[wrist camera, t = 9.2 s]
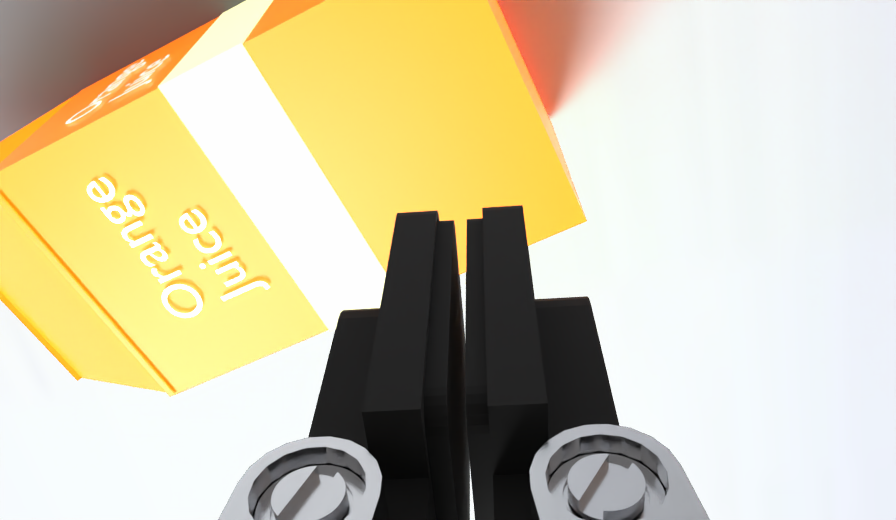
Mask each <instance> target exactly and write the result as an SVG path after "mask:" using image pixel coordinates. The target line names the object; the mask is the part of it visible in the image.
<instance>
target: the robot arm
mask: <svg viewBox="0 0 896 520" xmlns="http://www.w3.org/2000/svg"><path fill="white" fill-rule="evenodd" d="M470 468H471V479H472V490H473V501H474V511H475V520H710V519H709V517H708V515H707V513H706V511H705V510H704V508H703V506H702V504H701V502H700V500H699V498H698V496H697V494H696V492H695V491H694V489H693V487H692V485H691V483H690V481H689V479H688V477H687V475H686V473H685V472H684V470H683V468H682V466H681V464H680V463H679V462H678V460H677V459H676V458H675V456H674V455H673V454H672V453H671V451H670V450H669V449H668V448H667V447H665V446H664V445H663V444H661V443H660V442H658V441H657V440H656V439H654V438H653V437H651V436H649V435H647V434H644V433H642V432H639V431H637V430H634V429H632V428H628V427H623V426H619V422H618V418H617V414H616V410H615V405H614V401H613V397H612V393H611V388H610V384H609V380H608V375H607V371H606V367H605V363H604V358H603V354H602V350H601V346H600V341H599V337H598V333H597V329H596V324H595V320H594V316H593V312H592V307H591V304H590V300H589V298H588V297H570V298H552V299H534V291H533V283H532V275H531V267H530V259H529V251H528V243H527V235H526V227H525V219H524V211H523V205H516V206H500V207H484V208H482V218H478V219H467V237H466V344H465V333H464V321H463V310H462V299H461V287H460V276H459V265H458V253H457V242H456V231H455V222H454V220H446V221H440V220H439V213H438V210H436V211H420V212H404V213H397V215H396V219H395V225H394V231H393V236H392V242H391V248H390V254H389V259H388V265H387V271H386V276H385V282H384V288H383V293H382V299H381V305H380V308H371V309H353V310H343V311H342V312H341V313H340V316H339V318H338V322H337V326H336V330H335V334H334V338H333V342H332V346H331V350H330V354H329V358H328V362H327V366H326V370H325V374H324V378H323V381H322V385H321V389H320V393H319V397H318V401H317V405H316V409H315V413H314V417H313V421H312V425H311V429H310V433H309V437H308V438H304V439H301V440H297V441H293V442H289V443H286V444H284V445H282V446H280V447H278V448H276V449H274V450H272V451H270V452H268V453H266V454H265V455H264V456H263V457H261V458H260V459H259V460H258V461H256V462H255V463H254V464H253V465H251V466H250V467H249V468H248V470H247V471H246V472H245V474H244V475H243V476H242V478H241V479H240V481H239V482H238V483H237V485H236V487H235V489H234V491H233V493H232V495H231V496H230V498H229V500H228V502H227V504H226V506H225V508H224V510H223V512H222V513H221V515H220V517H219V519H218V520H470Z"/></svg>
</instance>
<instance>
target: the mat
mask: <svg viewBox="0 0 896 520" xmlns="http://www.w3.org/2000/svg"><path fill="white" fill-rule="evenodd" d="M244 1H246V0H0V142H1V141H3V140H4V139H6V138H7V137H9V136H11V135H12V134H14V133H15V132H17V131H19V130H20V129H22V128H23V127H25V126H27V125H28V124H30V123H32V122H33V121H35V120H36V119H38V118H40V117H41V116H43V115H44V114H46V113H48V112H49V111H51V110H52V109H54V108H56V107H57V106H59V105H60V104H62V103H64V102H65V101H67V100H68V99H70V98H72V97H73V96H75V95H76V94H78V93H79V92H80V91H81V90H83V89H85V88H87V87H88V86H90V85H92V84H94V83H96V82H98V81H100V80H102V79H103V78H105V77H107V76H109V75H111V74H113V73H115V72H116V71H118V70H120V69H122V68H124V67H126V66H128V65H130V64H131V63H133V62H135V61H137V60H139V59H141V58H143V57H144V56H146V55H148V54H150V53H152V52H154V51H156V50H158V49H159V48H161V47H163V46H165V45H167V44H169V43H171V42H172V41H174V40H176V39H178V38H180V37H182V36H184V35H186V34H187V33H189V32H191V31H193V30H195V29H197V28H199V27H201V26H202V25H204V24H206V23H208V22H210V21H212V20H214V19H215V18H217V17H219V16H220V15H221V14H222V13H224V12H225V11H227V10H229V9H231V8H233V7H235V6H237V5H238V4H240V3H242V2H244Z"/></svg>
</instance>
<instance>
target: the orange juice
mask: <svg viewBox="0 0 896 520" xmlns="http://www.w3.org/2000/svg"><path fill="white" fill-rule="evenodd" d="M516 205H523V211H524V219H525V227H526V235H527V243H528V246H529V245H531V244H533V243H536V242H538V241H541V240H543V239H545V238H548V237H550V236H552V235H555V234H557V233H560V232H562V231H564V230H567V229H569V228H571V227H574V226H576V225H578V224H581V223H583V222H586V221H587V220H586V218H585V215H584V212H583V209H582V206H581V204H580V201H579V198H578V195H577V193H576V190H575V187H574V184H573V181H572V179H571V176H570V173H569V170H568V167H567V165H566V162H565V159H564V156H563V154H562V151H561V148H560V145H559V142H558V140H557V137H556V134H555V131H554V128H553V126H552V123H551V121H550V119H549V116H548V114H547V112H546V110H545V107H544V105H543V103H542V101H541V98H540V96H539V94H538V92H537V89H536V87H535V85H534V83H533V80H532V78H531V76H530V74H529V71H528V69H527V67H526V65H525V62H524V60H523V58H522V56H521V53H520V51H519V49H518V47H517V44H516V42H515V40H514V38H513V35H512V33H511V31H510V29H509V26H508V24H507V22H506V20H505V17H504V15H503V13H502V11H501V8H500V6H499V4H498V2H497V0H246V1H244V2H242V3H240V4H238V5H237V6H235V7H233V8H231V9H229V10H227V11H225V12H224V13H222V14H221V15H220V16H219V17H217V18H215V19H214V20H212V21H210V22H208V23H206V24H204V25H202V26H201V27H199V28H197V29H195V30H193V31H191V32H189V33H187V34H186V35H184V36H182V37H180V38H178V39H176V40H174V41H172V42H171V43H169V44H167V45H165V46H163V47H161V48H159V49H158V50H156V51H154V52H152V53H150V54H148V55H146V56H144V57H143V58H141V59H139V60H137V61H135V62H133V63H131V64H130V65H128V66H126V67H124V68H122V69H120V70H118V71H116V72H115V73H113V74H111V75H109V76H107V77H105V78H103V79H102V80H100V81H98V82H96V83H94V84H92V85H90V86H88V87H87V88H85V89H83V90H81V91H80V92H79V93H78V94H76V95H75V96H73V97H72V98H70V99H68V100H67V101H65V102H64V103H62V104H60V105H59V106H57V107H56V108H54V109H52V110H51V111H49V112H48V113H46V114H44V115H43V116H41V117H40V118H38V119H36V120H35V121H33V122H32V123H30V124H28V125H27V126H25V127H23V128H22V129H20V130H19V131H17V132H15V133H14V134H12V135H11V136H9V137H7V138H6V139H4V140H3V141H1V142H0V300H1V301H2V302H3V303H4V304H5V305H6V306H7V307H8V308H9V309H10V310H11V311H12V312H13V313H14V314H15V315H16V316H17V317H18V319H19V320H20V321H21V322H22V323H23V324H24V325H25V326H26V327H27V328H28V329H29V330H30V331H31V332H32V333H33V334H34V335H35V336H36V337H37V339H38V340H39V341H40V342H41V343H42V344H43V345H44V346H45V347H46V348H47V349H48V350H49V351H50V352H51V353H52V354H53V355H54V356H55V357H56V359H57V360H58V361H59V362H60V363H61V364H62V365H63V366H64V367H65V368H66V369H67V370H68V371H69V372H70V373H71V374H72V375H73V376H74V377H75V379H76V380H77V381H78V380H79V379H80V378H87V379H92V380H98V381H104V382H110V383H116V384H121V385H127V386H133V387H139V388H145V389H150V390H156V391H162V392H166V393H167V394H168V395H169V396H170V397H171V396H173V395H176V394H178V393H180V392H183V391H185V390H187V389H190V388H192V387H194V386H197V385H199V384H202V383H204V382H206V381H209V380H211V379H213V378H216V377H218V376H221V375H223V374H225V373H228V372H230V371H232V370H235V369H237V368H240V367H242V366H244V365H247V364H249V363H251V362H254V361H256V360H258V359H261V358H263V357H266V356H268V355H270V354H273V353H275V352H277V351H280V350H282V349H285V348H287V347H289V346H292V345H294V344H296V343H299V342H301V341H304V340H306V339H308V338H311V337H313V336H315V335H318V334H320V333H322V332H325V331H327V330H329V331H332V330H334V329H336V326H337V322H338V318H339V316H340V313H341V312H342V311H343V310H353V309H371V308H380V305H381V299H382V293H383V288H384V282H385V276H386V271H387V265H388V259H389V254H390V248H391V242H392V236H393V231H394V225H395V219H396V215H397V213H404V212H420V211H436V210H438V213H439V220H440V221H446V220H454V222H455V231H456V242H457V253H458V265H459V275H460V274H462V273H465V272H466V237H467V219H478V218H482V208H484V207H500V206H516Z"/></svg>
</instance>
